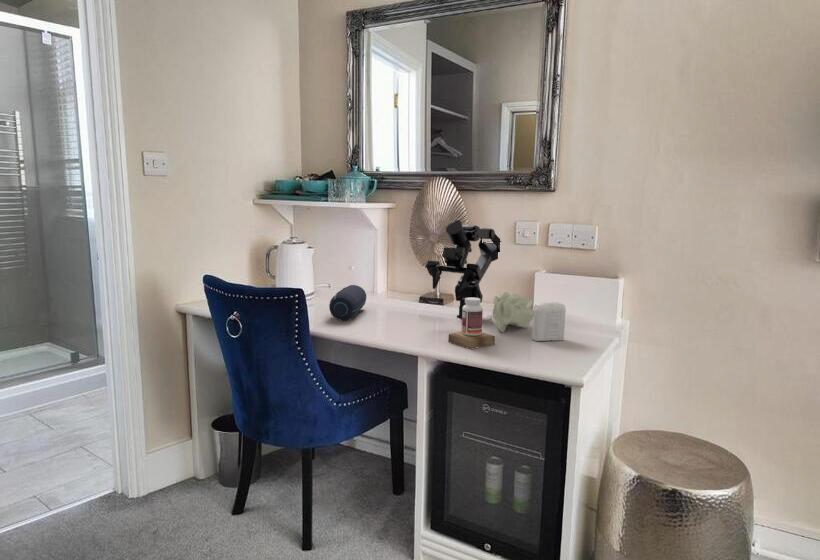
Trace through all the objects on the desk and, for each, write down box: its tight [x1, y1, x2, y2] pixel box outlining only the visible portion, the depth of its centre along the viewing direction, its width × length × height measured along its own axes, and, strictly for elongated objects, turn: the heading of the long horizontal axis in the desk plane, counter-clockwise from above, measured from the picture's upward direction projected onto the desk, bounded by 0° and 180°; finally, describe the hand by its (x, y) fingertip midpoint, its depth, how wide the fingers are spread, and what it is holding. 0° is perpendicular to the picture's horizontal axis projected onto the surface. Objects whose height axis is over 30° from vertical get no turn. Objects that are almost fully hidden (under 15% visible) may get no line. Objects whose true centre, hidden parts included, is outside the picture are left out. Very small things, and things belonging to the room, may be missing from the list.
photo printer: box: [531, 300, 566, 342], centre depth 178 cm, size 10×4×12 cm, turn 103°
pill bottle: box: [461, 297, 484, 336], centre depth 172 cm, size 6×6×11 cm
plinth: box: [447, 330, 496, 349], centre depth 173 cm, size 10×10×3 cm
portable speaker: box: [328, 284, 367, 321], centre depth 208 cm, size 25×10×10 cm, turn 173°
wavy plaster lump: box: [491, 291, 534, 333], centre depth 192 cm, size 18×13×16 cm
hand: (446, 289), depth 187 cm, fingers open, 9 cm apart
